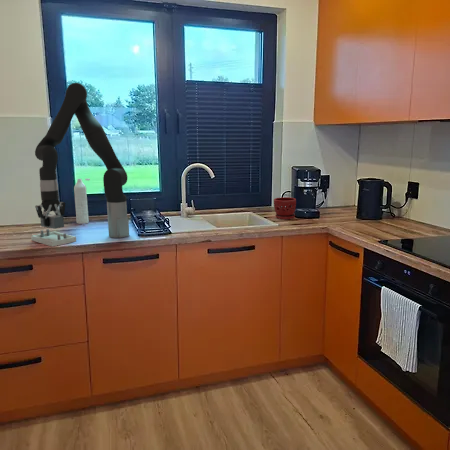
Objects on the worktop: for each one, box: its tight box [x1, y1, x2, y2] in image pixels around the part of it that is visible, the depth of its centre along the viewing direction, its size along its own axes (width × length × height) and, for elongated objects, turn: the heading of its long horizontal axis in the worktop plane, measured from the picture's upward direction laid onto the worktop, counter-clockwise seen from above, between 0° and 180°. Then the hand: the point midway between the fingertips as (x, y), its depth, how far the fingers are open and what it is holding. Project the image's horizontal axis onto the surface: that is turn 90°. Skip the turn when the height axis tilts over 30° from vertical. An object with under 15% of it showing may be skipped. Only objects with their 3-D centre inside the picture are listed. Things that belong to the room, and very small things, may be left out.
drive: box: [39, 213, 65, 230], centre depth 193 cm, size 10×5×5 cm, turn 59°
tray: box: [30, 228, 77, 247], centre depth 195 cm, size 18×12×4 cm, turn 52°
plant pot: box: [273, 196, 297, 221], centre depth 247 cm, size 13×13×12 cm
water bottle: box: [73, 177, 91, 225], centre depth 232 cm, size 9×6×25 cm
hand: (52, 225), depth 194 cm, fingers closed on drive, 5 cm apart
